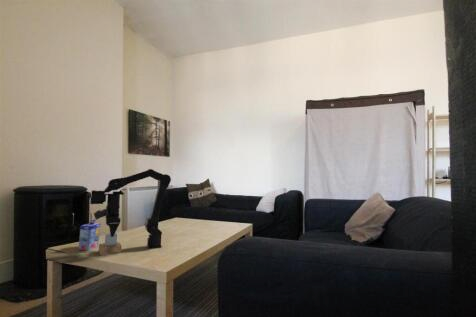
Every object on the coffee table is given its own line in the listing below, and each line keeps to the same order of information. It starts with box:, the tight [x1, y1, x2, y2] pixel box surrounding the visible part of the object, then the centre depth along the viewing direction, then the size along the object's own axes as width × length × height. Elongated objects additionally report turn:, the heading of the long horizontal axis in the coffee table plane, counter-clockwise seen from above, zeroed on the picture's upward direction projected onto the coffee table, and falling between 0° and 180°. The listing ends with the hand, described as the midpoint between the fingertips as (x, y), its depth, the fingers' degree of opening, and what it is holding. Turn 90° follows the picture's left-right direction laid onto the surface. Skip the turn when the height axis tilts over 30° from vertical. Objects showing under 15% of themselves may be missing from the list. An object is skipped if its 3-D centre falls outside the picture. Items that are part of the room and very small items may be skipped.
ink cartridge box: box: [78, 219, 101, 251], centre depth 136 cm, size 10×6×14 cm, turn 178°
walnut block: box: [98, 241, 122, 257], centre depth 128 cm, size 9×9×4 cm
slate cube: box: [104, 232, 118, 246], centre depth 128 cm, size 5×5×5 cm
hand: (111, 235), depth 129 cm, fingers open, 9 cm apart
